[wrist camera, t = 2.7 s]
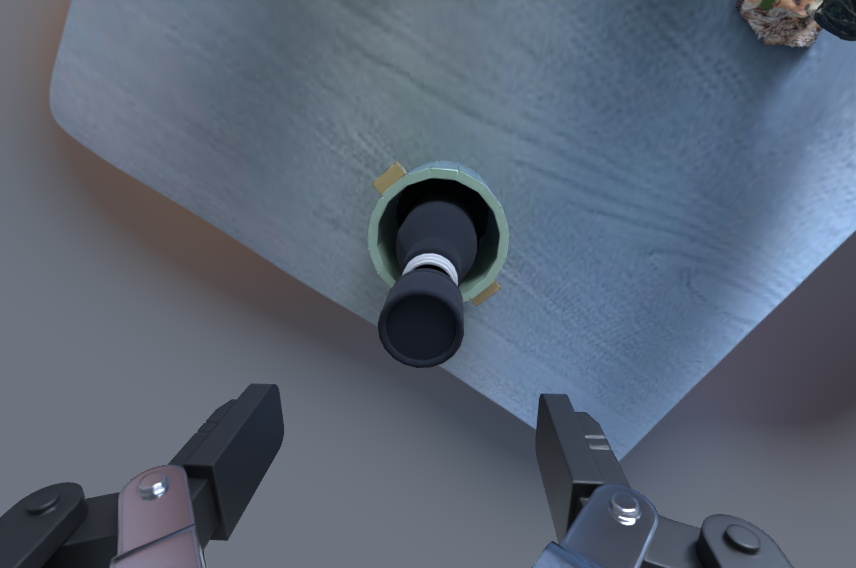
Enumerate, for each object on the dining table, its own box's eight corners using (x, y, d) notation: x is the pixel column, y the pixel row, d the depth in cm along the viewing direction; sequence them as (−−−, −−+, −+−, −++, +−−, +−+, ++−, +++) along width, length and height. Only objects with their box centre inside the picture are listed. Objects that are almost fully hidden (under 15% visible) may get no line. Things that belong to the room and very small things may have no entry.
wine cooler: (442, 127, 45) (437, 123, 33) (523, 231, 47) (545, 261, 36) (360, 200, 47) (329, 220, 36) (442, 293, 50) (437, 341, 38)
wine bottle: (456, 253, 49) (456, 413, 20) (404, 230, 48) (329, 361, 20) (481, 200, 47) (519, 296, 18) (426, 176, 46) (378, 236, 18)
